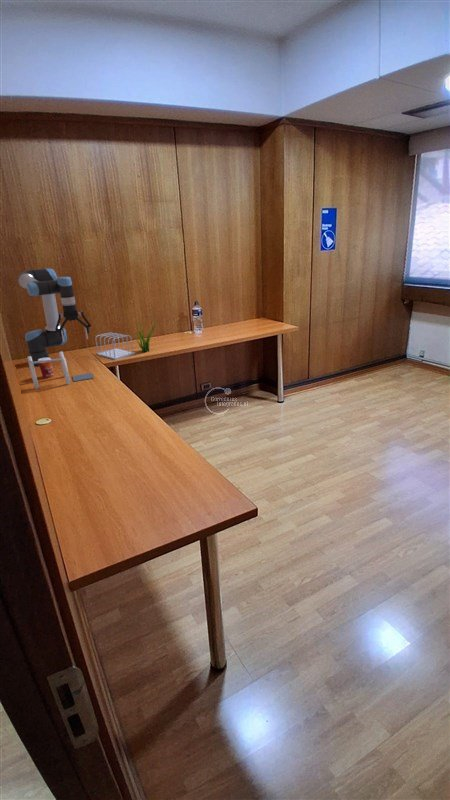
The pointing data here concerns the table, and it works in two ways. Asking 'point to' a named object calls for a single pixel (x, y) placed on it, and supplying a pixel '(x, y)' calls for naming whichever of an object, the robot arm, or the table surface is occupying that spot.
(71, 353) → the table surface
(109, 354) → the file sorter
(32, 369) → the white hurdle
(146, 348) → the decorative plant
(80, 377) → the mat
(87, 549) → the table surface
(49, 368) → the coffee cup
